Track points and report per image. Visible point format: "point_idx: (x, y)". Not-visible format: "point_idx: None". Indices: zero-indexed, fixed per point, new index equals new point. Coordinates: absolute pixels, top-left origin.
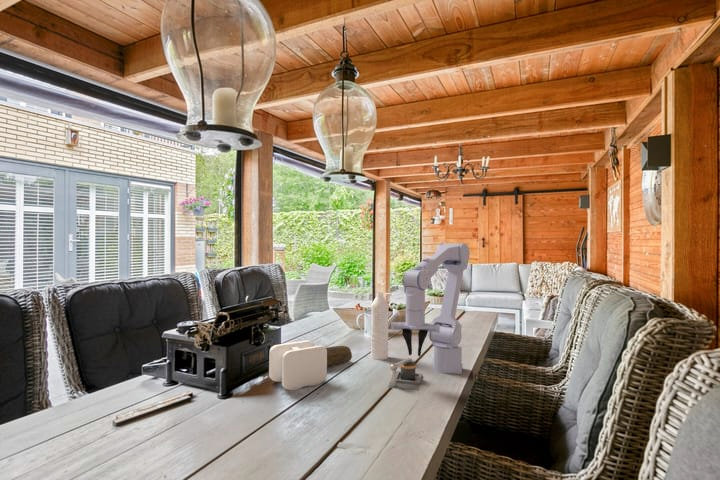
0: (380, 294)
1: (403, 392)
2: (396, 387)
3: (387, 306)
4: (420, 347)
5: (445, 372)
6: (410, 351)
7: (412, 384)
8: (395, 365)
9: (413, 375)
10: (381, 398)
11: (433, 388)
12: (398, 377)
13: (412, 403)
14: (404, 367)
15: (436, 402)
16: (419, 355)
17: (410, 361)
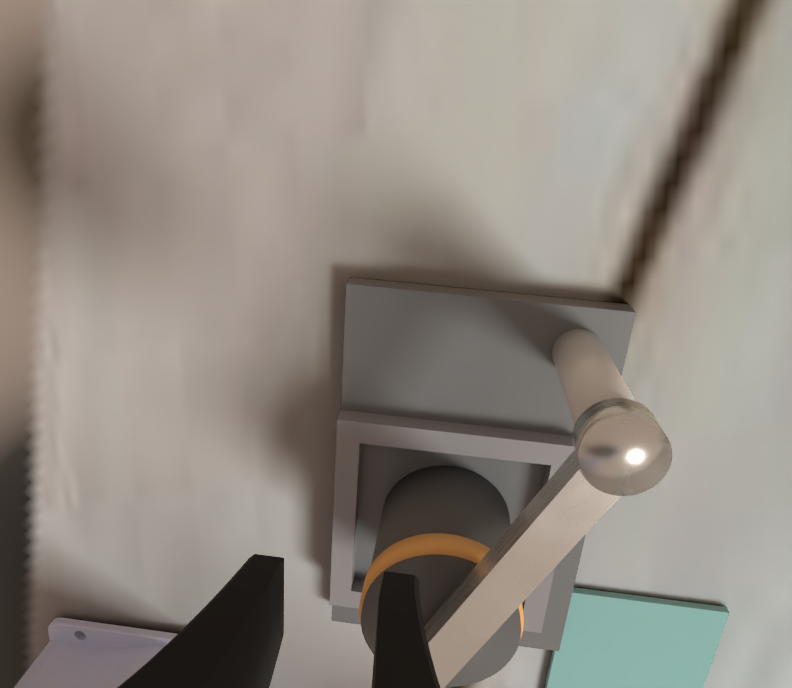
0: None
1: (482, 276)
2: (550, 320)
3: None
4: (188, 643)
5: (156, 653)
6: (387, 606)
7: (403, 408)
8: (602, 437)
9: (392, 509)
10: (701, 96)
11: (234, 396)
12: None
13: (395, 36)
14: (479, 549)
15: (185, 107)
16: (257, 558)
17: None
